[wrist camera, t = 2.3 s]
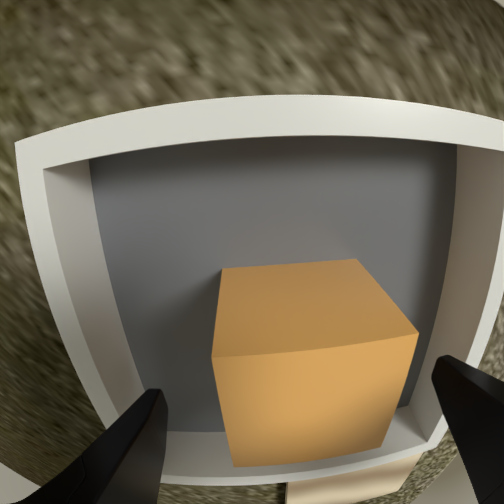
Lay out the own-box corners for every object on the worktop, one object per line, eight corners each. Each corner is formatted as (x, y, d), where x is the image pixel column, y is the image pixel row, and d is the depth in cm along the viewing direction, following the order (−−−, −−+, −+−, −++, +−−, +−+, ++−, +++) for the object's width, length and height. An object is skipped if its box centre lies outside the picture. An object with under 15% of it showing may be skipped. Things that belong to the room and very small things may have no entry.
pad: (394, 482, 20) (397, 490, 19) (284, 504, 20) (286, 513, 19) (431, 418, 16) (436, 428, 15) (287, 448, 16) (289, 461, 15)
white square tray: (414, 406, 16) (436, 447, 12) (150, 433, 15) (139, 480, 12) (466, 123, 10) (523, 127, 7) (70, 137, 10) (14, 142, 7)
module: (345, 361, 13) (380, 447, 8) (234, 372, 13) (233, 467, 8) (356, 258, 11) (419, 333, 7) (222, 268, 11) (211, 357, 7)
